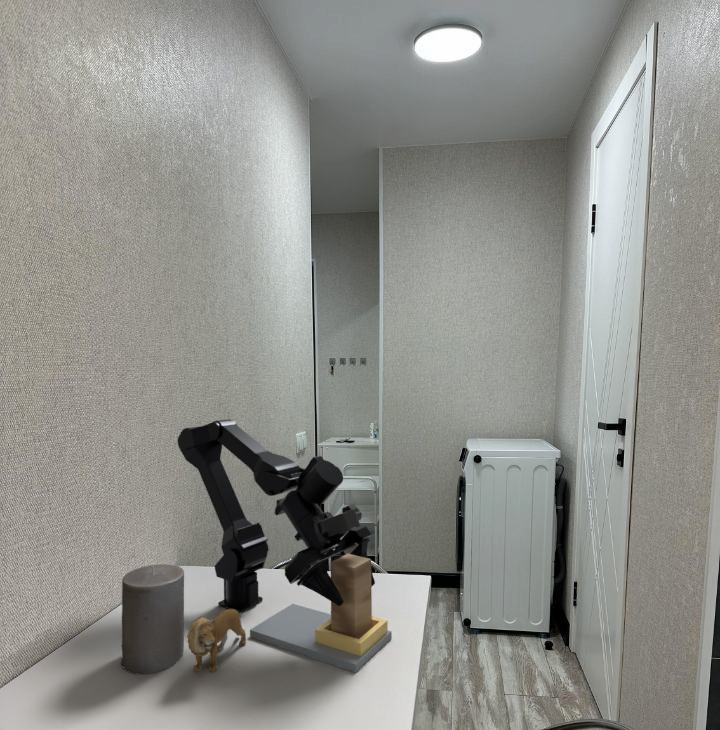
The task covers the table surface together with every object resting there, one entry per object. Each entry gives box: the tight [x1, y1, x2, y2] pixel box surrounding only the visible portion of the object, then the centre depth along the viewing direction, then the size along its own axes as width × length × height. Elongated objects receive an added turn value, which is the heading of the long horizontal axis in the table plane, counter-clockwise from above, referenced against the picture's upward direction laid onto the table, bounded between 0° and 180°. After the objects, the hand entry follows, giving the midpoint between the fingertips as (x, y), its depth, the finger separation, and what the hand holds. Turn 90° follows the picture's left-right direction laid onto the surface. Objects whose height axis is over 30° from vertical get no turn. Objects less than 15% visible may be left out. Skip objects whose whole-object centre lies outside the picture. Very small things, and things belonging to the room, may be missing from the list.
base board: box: [249, 603, 393, 673], centre depth 92 cm, size 22×12×3 cm, turn 59°
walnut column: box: [330, 554, 373, 639], centre depth 90 cm, size 5×5×13 cm
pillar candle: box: [120, 563, 185, 675], centre depth 86 cm, size 10×10×15 cm
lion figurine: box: [186, 609, 247, 673], centre depth 86 cm, size 15×5×9 cm, turn 167°
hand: (358, 594), depth 89 cm, fingers open, 9 cm apart
